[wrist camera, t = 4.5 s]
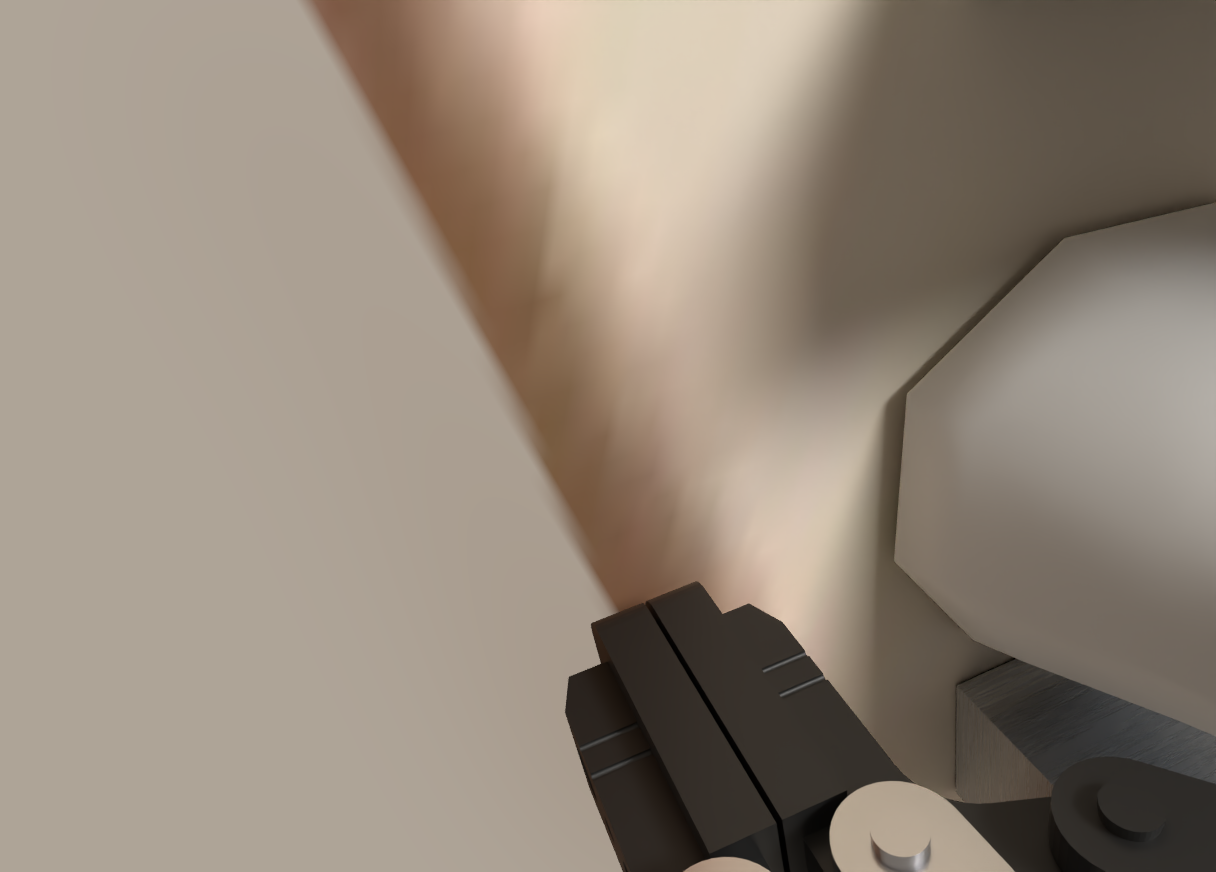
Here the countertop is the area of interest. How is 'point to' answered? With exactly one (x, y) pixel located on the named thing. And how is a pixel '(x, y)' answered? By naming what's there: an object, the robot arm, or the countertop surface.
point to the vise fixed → (1058, 734)
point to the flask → (1081, 468)
